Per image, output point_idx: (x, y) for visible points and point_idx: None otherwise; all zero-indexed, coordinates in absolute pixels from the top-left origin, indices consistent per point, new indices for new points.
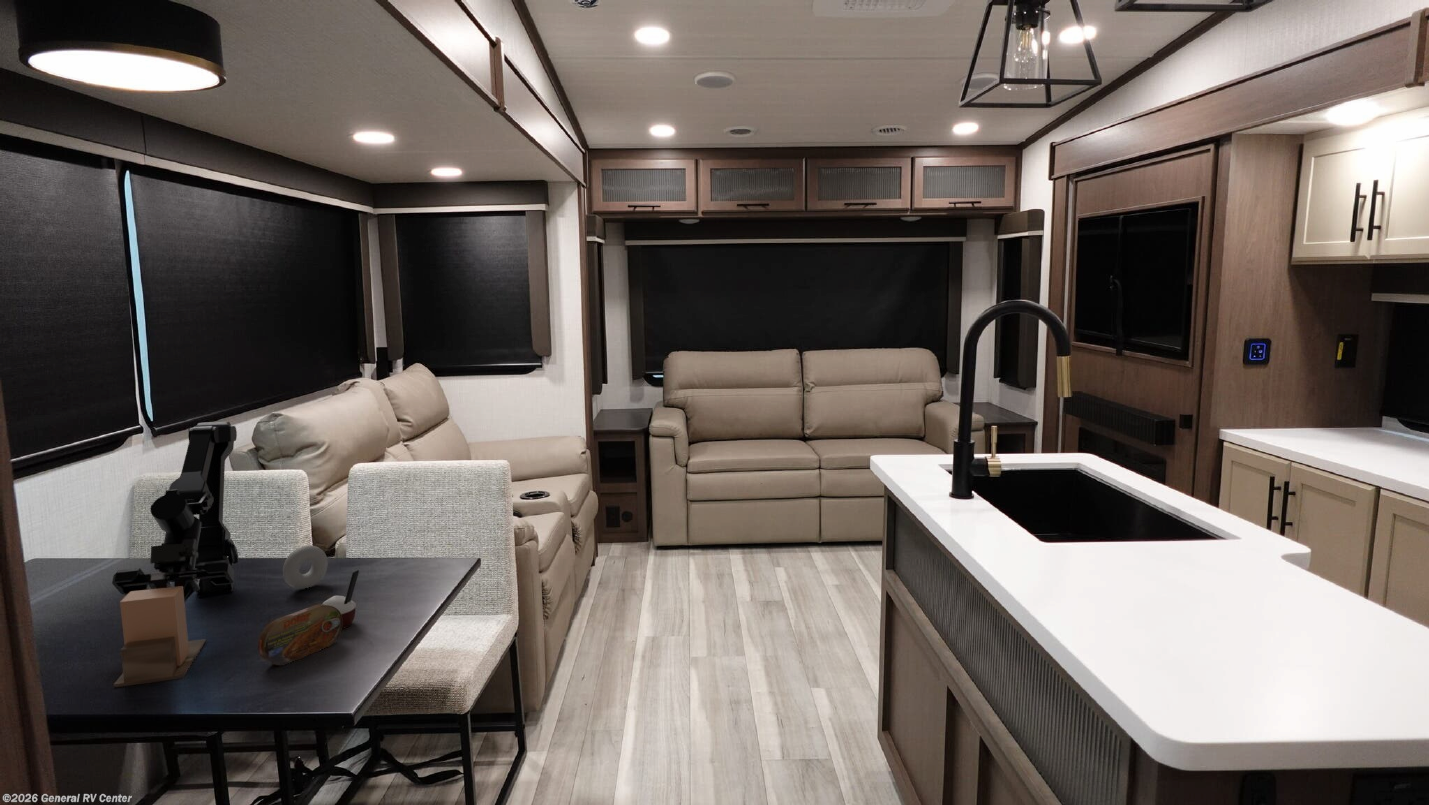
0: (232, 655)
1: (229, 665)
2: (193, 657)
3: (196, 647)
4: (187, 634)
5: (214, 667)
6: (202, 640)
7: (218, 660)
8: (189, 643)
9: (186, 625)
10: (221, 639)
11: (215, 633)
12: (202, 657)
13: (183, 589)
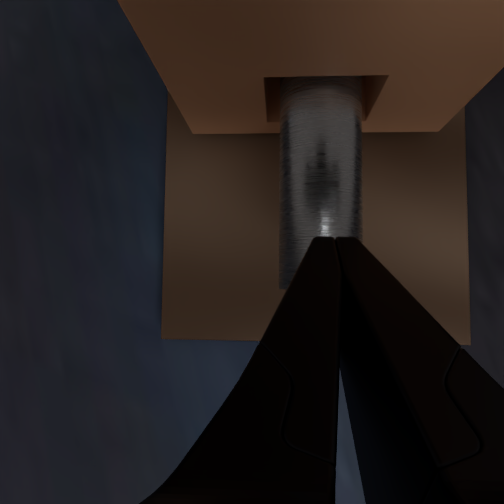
0: (8, 116)
1: (3, 6)
2: (168, 102)
3: (184, 232)
4: (165, 85)
5: (63, 4)
6: (174, 322)
7: (61, 78)
8: (234, 302)
9: (144, 46)
10: (96, 347)
11: (143, 451)
12: (141, 138)
13: (178, 471)
